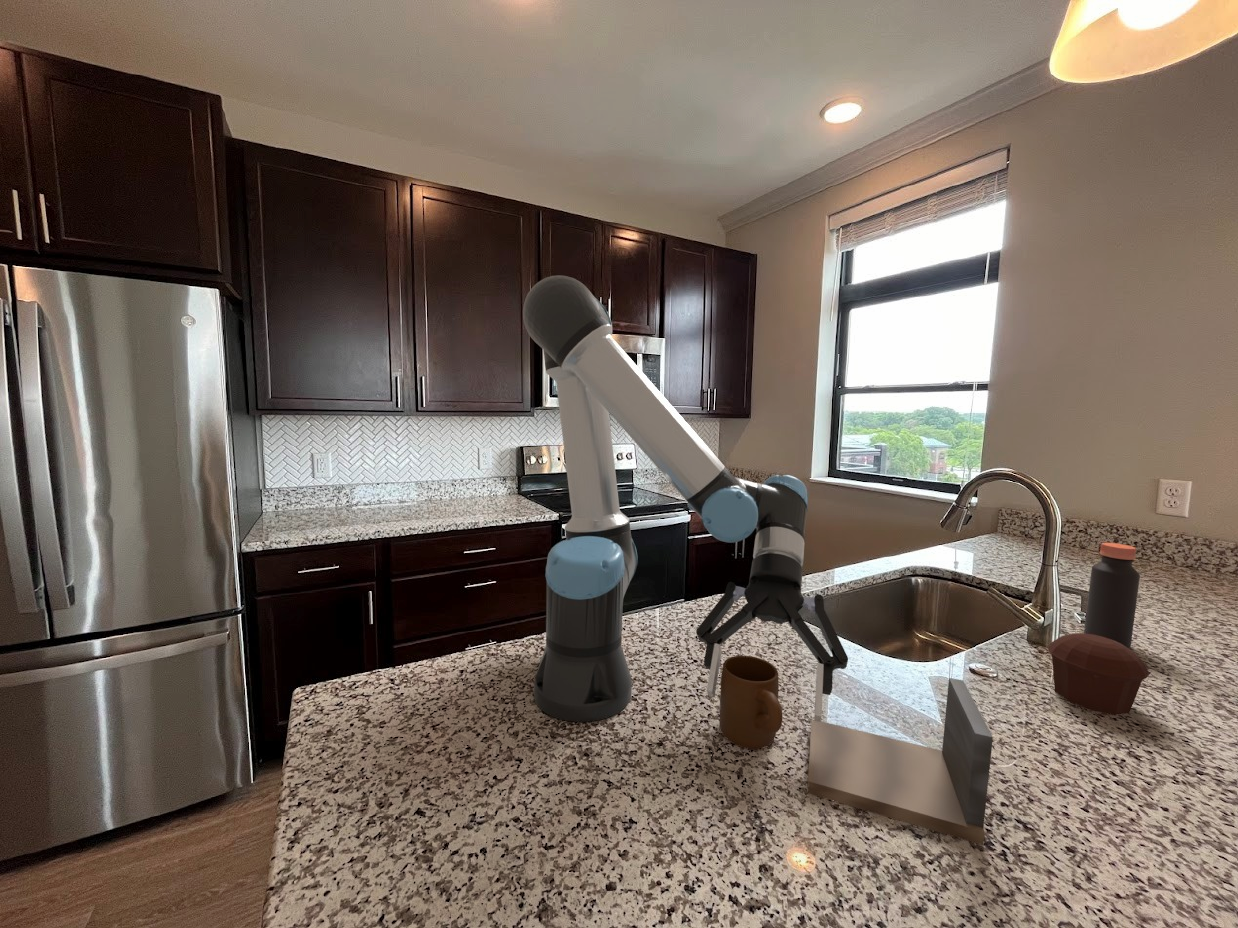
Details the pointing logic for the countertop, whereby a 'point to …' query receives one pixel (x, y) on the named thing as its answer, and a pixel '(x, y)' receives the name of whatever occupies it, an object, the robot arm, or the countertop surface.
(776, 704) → the mug
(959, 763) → the shelf
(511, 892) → the countertop surface
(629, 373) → the robot arm
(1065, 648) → the muffin
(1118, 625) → the bottle
